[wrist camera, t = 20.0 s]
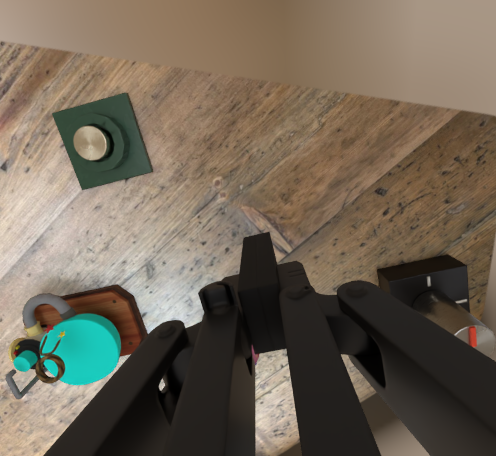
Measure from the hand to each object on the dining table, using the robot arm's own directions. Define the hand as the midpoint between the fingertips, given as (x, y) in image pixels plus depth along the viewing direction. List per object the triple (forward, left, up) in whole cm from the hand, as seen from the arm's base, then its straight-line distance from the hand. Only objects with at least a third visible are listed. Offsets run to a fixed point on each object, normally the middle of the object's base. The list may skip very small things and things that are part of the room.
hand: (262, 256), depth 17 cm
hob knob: (-19, +20, -20) cm, 34 cm away
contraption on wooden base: (+31, +13, -25) cm, 42 cm away
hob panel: (-19, +20, -24) cm, 37 cm away
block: (+18, -11, -24) cm, 32 cm away
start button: (+18, -11, -22) cm, 31 cm away
